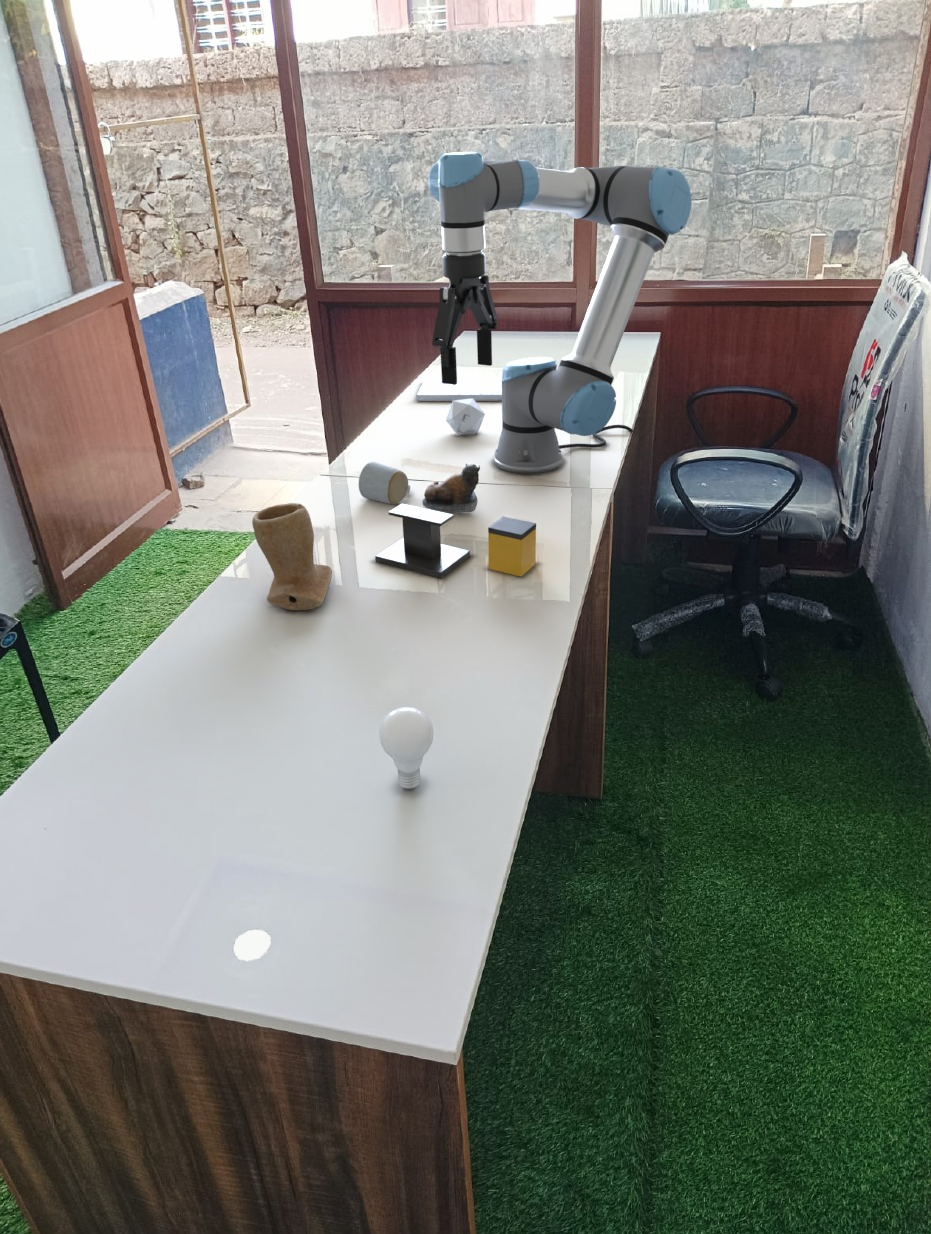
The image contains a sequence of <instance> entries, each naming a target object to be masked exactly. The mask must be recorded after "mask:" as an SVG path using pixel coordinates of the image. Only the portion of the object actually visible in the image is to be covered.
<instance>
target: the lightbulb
mask: <svg viewBox="0 0 931 1234" xmlns="http://www.w3.org/2000/svg"><path fill="white" fill-rule="evenodd" d="M378 731H379V733H378V739H379V742H380V744H381V747H382V749H383V750H384V752H385V753H386V754H387V755H388V756H389V757H390V758H391V759H392V760H393V763H394V766H395V767H396V769H397V778H398V779H397V780H398V785H399V786H400V787H401V788H404V789H406V790H407V789H408V790H411V789H415V788H418V786H419V785H420V784H421V781H422V780H421V766H422V763H423V758H424V756H425V755H426V754H427V753H428V752H429V750H430V748H431V746H432V744H433V741H434V727H433V724H432V721H431V720H430V718H429V716H428V715H427V714H426V713H424V712H423V711H422V710H421V709H419V708H416V707H414V706H399V707H396V708H394V709H393V710H391V711H389V712H388V713H387V714H386V715H385V717H384V718H383V720H382V721H381V724H380V726H379V730H378Z"/></svg>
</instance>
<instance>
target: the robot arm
mask: <svg viewBox="0 0 931 1234" xmlns="http://www.w3.org/2000/svg"><path fill="white" fill-rule="evenodd" d="M428 188H429V192H430V194H431V196H432V197H433V198H434V199H435V200H436V201H437V202H439V213H440V226H441V227H440V228H441V231H440V236H441V251H443V252H445V253H443V255H442V256H441V259H442V275H443V277H444V278H447V279H448V280H449V287H445V286H444V287H443V286H441V287H440V288H439V299H438V300H439V301H438V308H437V313H436V318H435V325H434V330H433V335H432V340H431V344H432V347H435V348H439V351H440V352H439V353H440V368H441V369H440V370H441V381H442V383H443V384H452V385H456V384H457V381H458V372H457V369H458V368H457V348H456V346H454V343H455V340H456V337H457V334H458V330H459V327H460V324H461V322H462V321H461V320H462V318H463V315H464V314H466V312H467V310H468V309H470V311H471V314H472V315H473V317H474V319H475V322H476V324H477V325H478V327H479V328H477V329H476V343H477V344H476V348H477V349H476V351H477V353H476V354H477V365H479V366H489V367H491V366H493V344H492V343H493V342H492V340H493V339H492V337H493V335H492V330H496V329H497V327H498V320H499V318H498V314H497V311H496V307H495V303H494V300H493V295H492V291H491V287H490V280H489V279H490V278H489V275H487V274H486V272H487V271H486V268H487V267H486V266H487V265H486V254H485V252H484V250H485V249H486V231H485V229H486V228H485V227H486V226H485V224H486V222H485V221H486V220H485V217H486V216H485V215H486V213H487V212H491V211H500V210H509V209H510V210H511V209H516V210H526V211H527V210H528V211H539V212H540V211H541V212H554V213H565V215H566V216H567V217H569V218H571V219H574V220H575V219H576V220H583V221H588V222H592V223H596V224H599V225H604V226H607V227H610V232H611V234H612V237H613V241H612V243H611V247H610V248H609V251H608V254H607V256H606V260H605V263H604V265H603V267H602V271H601V272H600V276H599V279H598V281H597V284H596V286H595V289H594V292H593V294H592V296H591V300H590V302H589V305H588V307H587V310H586V313H585V316H584V319H583V321H582V324H581V326H580V328H579V331H578V334H577V337H576V340H575V343H574V345H573V348H572V350H571V353H570V354H568V355H566V356H563V357H562V358H561V359H560V362H559V365H558V364H557V360H556V359H555V358H553V357H548V356H536V357H525V358H519V359H515V360H511V361H509V362H507V363H506V364H505V365H504V366H503V368H502V375H501V376H502V377H501V380H500V381H501V383H502V401H501V414H502V415H501V418H502V420H501V422H502V424H501V425H502V426H501V433H500V436H499V441H498V444H497V447H496V448H495V450H494V456H493V459H494V460H493V461H494V465H495V466H496V467H498V469H501V470H503V471H506V472H508V473H509V472H510V473H516V474H527V475H528V474H540V473H541V474H542V473H546V472H551V471H554V470H555V469H557V468H559V467H561V465H562V463H563V455H562V449H570V448H602V447H605V446H606V445H607V441H606V439H605V438H603V437H602V436H600V435H598V434H599V433H602V432H605V431H609V430H613V429H624V430H626V431H628V432H630V433H633V432H634V430H633V429H632V428H631V427H630V426H627V425H625V424H610V425H607V424H609V422H610V420H611V419H612V417H613V415H614V412H615V410H616V406H617V400H616V399H615V398H616V397H617V393H616V390H615V388H614V387H613V386H612V384H613V382H614V381H615V380H614V379H615V376H614V375H613V372H612V369H611V367H612V365H613V362H614V359H615V356H616V354H617V351H618V348H619V346H620V344H621V341H622V338H623V335H624V332H625V330H626V327H627V325H628V322H629V320H630V317H631V315H632V312H633V309H634V306H635V304H636V302H637V299H638V296H639V293H640V291H641V288H642V285H643V283H644V281H645V278H646V276H647V273H648V270H649V267H650V264H651V262H652V260H653V257H654V254H655V253H657V252H659V251H661V250H663V249H665V247H666V244H667V241H668V239H669V237H670V235H672V236H673V235H676V234H678V233H679V232H681V231H682V230H683V229H684V228H685V227H686V225H687V223H688V221H689V218H690V215H691V211H692V202H693V200H692V193H691V187H690V183H689V181H688V178H687V177H686V176H685V175H684V174H683V172H682V171H680V170H679V169H675V168H670V167H665V166H656V167H655V166H634V165H610V166H601V167H582V166H578V167H574V168H572V169H571V170H569V171H568V170H559V169H551V168H542V167H541V168H540V167H536V166H535V165H534V163H532V162H531V161H529V160H527V159H512V160H484V157H483V155H482V153H481V152H478V151H458V152H447V153H444V154H442V155H441V156H440V157H439V159H438V160H437V161H436V162H435V163H433V165H432V167H431V169H430V170H429V174H428ZM556 429H557V430H560V431H562V432H564V433H567V434H569V435H576V436H580V437H589V436H593V438H595V439H596V440H598V441H599V442H601V443H567V444H559V443H560V442H559V440H558V436H557V433H556Z"/></svg>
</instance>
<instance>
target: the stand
mask: <svg viewBox="0 0 931 1234" xmlns="http://www.w3.org/2000/svg"><path fill="white" fill-rule="evenodd" d="M387 515H388V516H392V517H396V518H400V519H402V521H401V522H402V536H403V537H401V538H400V539H399V540H397V541H395V542H394V543H393V544H390V546H388V547H387V548H385V549H384V550H381V552H379V553H377V554H376V555H375V556H374V559H375V560H374V561H375V563H379V564H383V565H387V566H390V567H394V568H399V569H402V570H407V571H410V572H414V573H418V574H421V575H425V576H429V577H434V578H436V579H437V578H438V579H443V578H444V577H445V576H447V575H448V574H449V573H451V572H452V571H453V570H454V569H456V568H457V567H458V566H460V565H461V564H462V563H464V562H465V561H467V560H468V559H469V558H471V550H470V549H465V548H460V547H458V546H457V547H456V546H452V545H447V544H444V543H442V539H441V538H442V537H441V527H443V526H444V525H445V524H448V522H450V521H451V520H453V519H454V518H455V515H454V514H452V513H449V512H443V511H436V510H431V509H428V508H426V507H419V506H415V505H410V504H406V503H399V504H398V505H397V506H395V507H393V508H392V509H391V510H388V512H387Z"/></svg>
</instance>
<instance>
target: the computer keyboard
mask: <svg viewBox="0 0 931 1234" xmlns="http://www.w3.org/2000/svg"><path fill="white" fill-rule="evenodd" d="M501 381H502V380H457V384H456V385H452V384H443V383H442V380H440V381H439V380H438V381H437V380H435V381H433V380H432V381H431V380H430V381H429V380H428V381H427V380H426V381H425V380H424V381H422V383H421V385H420V387H419V389H418V391H417V393H416V401H417V402H452V401H455V400H463V399H471V398H473V399H474V400H475V402H477V401H478V402H481V401H482V402H483V401H485V402H488V401H489V402H490V401H493V402H494V401H495V402H496V401H497V402H498V401H499V402H502V383H501Z"/></svg>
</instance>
